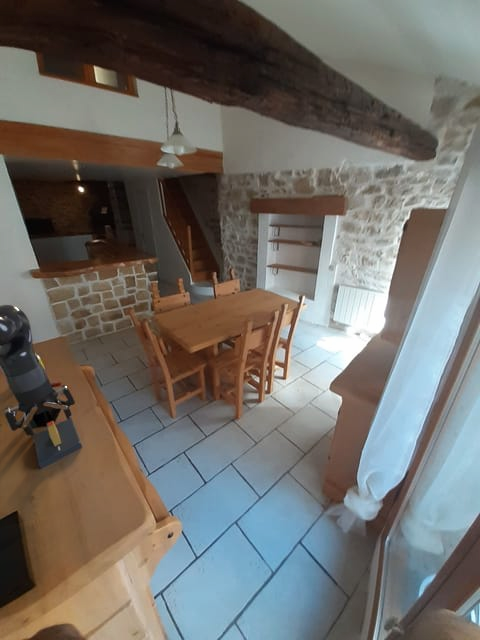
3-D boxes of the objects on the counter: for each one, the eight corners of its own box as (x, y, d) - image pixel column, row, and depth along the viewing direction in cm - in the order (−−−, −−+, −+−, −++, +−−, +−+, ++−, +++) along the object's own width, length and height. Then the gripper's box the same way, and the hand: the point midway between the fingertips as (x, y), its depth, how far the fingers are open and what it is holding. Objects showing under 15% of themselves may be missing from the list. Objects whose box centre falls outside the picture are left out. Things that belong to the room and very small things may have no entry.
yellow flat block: (61, 443, 73) (56, 432, 71) (54, 446, 72) (49, 435, 70) (57, 431, 76) (52, 420, 74) (51, 434, 75) (46, 423, 73)
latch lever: (46, 388, 91) (45, 382, 91) (62, 386, 92) (61, 380, 92) (25, 401, 78) (24, 393, 78) (43, 398, 80) (42, 391, 79)
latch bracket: (39, 408, 88) (27, 382, 83) (65, 404, 90) (54, 378, 85) (26, 431, 80) (11, 404, 74) (54, 426, 81) (42, 399, 76)
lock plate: (83, 449, 75) (80, 442, 73) (42, 471, 69) (38, 463, 67) (74, 424, 82) (71, 417, 81) (36, 441, 77) (32, 434, 75)
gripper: (59, 363, 71) (76, 405, 78) (-8, 386, 62) (18, 431, 70) (64, 376, 66) (82, 419, 73) (-8, 403, 58) (20, 449, 65)
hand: (50, 425), depth 72 cm, fingers open, 8 cm apart
